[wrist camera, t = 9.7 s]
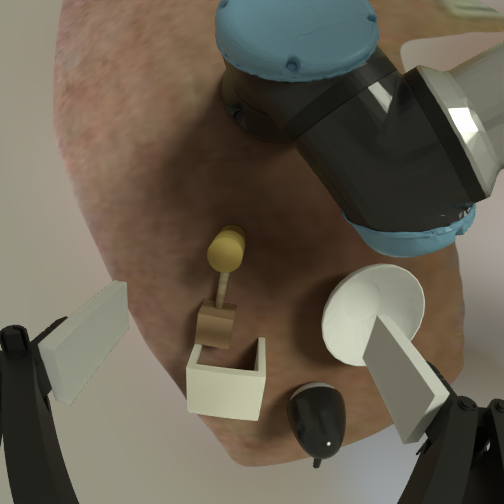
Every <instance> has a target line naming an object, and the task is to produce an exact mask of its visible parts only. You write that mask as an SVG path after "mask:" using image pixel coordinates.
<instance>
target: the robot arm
mask: <svg viewBox="0 0 504 504" xmlns="http://www.w3.org/2000/svg"><path fill="white" fill-rule="evenodd" d="M376 22H377V15H376V13H375V11H374V9H373V7H372V5H371V4H370V2H369V1H368V0H221V1H220V3H219V6H218V7H217V12H216V16H215V29H216V31H215V37H216V43H217V47H218V49H219V50H220V52H221V53H222V56H223V59H224V62H225V65H226V71H225V73H224V76H223V80H222V90H221V91H222V99H223V103H224V106H225V108H226V110H227V112H228V114H229V116H230V117H231V119H232V120H233V122H234V123H235V124H236V125H237V126H238V127H239V128H240V129H241V130H243V131H244V132H245V133H247V134H248V135H250V136H252V137H254V138H257V139H259V140H262V141H266V142H272V143H286V142H292V144H293V146H294V147H295V148H296V149H297V151H298V152H299V153H300V154H301V156H302V157H303V158H304V160H305V161H306V162H307V163H308V165H309V166H310V167H311V169H312V170H313V171H314V173H315V174H316V175H317V177H318V178H319V179H320V181H321V182H322V183H323V185H324V186H325V187H326V189H327V190H328V192H329V193H330V194H331V196H332V197H333V198H334V200H335V201H336V203H337V204H338V206H339V207H340V208H341V213H342V215H343V217H344V218H345V220H346V221H347V222H348V223H349V224H351V225H352V226H353V227H354V228H355V230H356V231H357V232H358V234H359V235H360V236H361V238H362V239H363V241H364V242H365V243H366V244H367V245H368V246H369V247H371V248H372V249H374V250H375V251H376V252H379V253H380V254H383V255H387V256H391V257H401V258H405V257H416V256H421V255H426V254H429V253H432V252H435V251H438V250H440V249H442V248H444V247H446V246H448V245H450V244H451V243H453V242H454V241H455V236H456V235H463V234H464V233H465V232H466V231H467V230H468V228H469V227H470V226H471V224H472V222H473V220H474V217H475V209H476V202H479V201H481V200H484V199H486V198H488V197H490V196H491V193H492V190H493V187H494V184H495V181H496V178H497V175H498V174H499V172H500V171H501V170H502V169H504V41H503V42H502V43H499V44H497V45H496V46H494V47H492V48H490V49H488V50H486V51H484V52H482V53H480V54H478V55H477V56H475V57H473V58H471V59H469V60H467V61H465V62H464V63H462V64H460V65H459V66H457V67H455V68H453V69H451V70H449V71H444V72H443V71H439V70H436V69H432V68H429V67H425V66H421V65H418V66H416V67H415V68H413V69H412V70H410V71H408V72H407V73H405V74H400V72H399V71H398V70H397V69H396V67H395V66H394V65H393V64H392V62H391V61H390V60H389V59H388V57H387V56H386V55H385V54H384V53H383V51H382V50H381V49H380V48H379V47H378V45H377V43H378V40H379V28H378V26H377V24H376ZM128 329H129V321H128V302H127V282H122V281H116V280H114V281H112V282H111V283H110V284H109V285H108V286H106V287H105V288H104V289H102V290H101V291H100V292H99V293H97V294H96V295H95V296H94V297H93V298H91V299H90V300H89V301H88V302H86V303H85V304H84V305H83V306H82V307H80V308H79V309H78V310H77V311H76V312H74V313H73V314H72V315H71V316H70V317H63V318H60V319H58V320H56V321H55V322H54V323H52V324H51V325H50V327H48V328H46V329H45V331H43V332H42V333H41V334H39V335H38V336H37V337H36V338H35V339H34V340H32V341H31V342H30V341H29V337H28V333H27V329H26V328H24V327H23V326H20V325H11V326H7V327H5V328H3V329H2V330H1V331H0V344H1V348H2V351H1V350H0V445H1V439H2V434H3V442H4V451H5V459H6V466H7V472H8V478H9V484H10V488H11V493H12V497H13V502H14V504H79V502H78V500H77V497H76V495H75V492H74V489H73V487H72V484H71V481H70V478H69V475H68V472H67V469H66V466H65V463H64V460H63V457H62V453H61V449H60V446H59V443H58V439H57V434H56V430H55V426H54V421H53V417H52V412H51V406H50V401H49V398H48V396H47V394H48V393H49V392H50V391H51V390H52V391H53V394H54V397H55V399H56V400H58V401H60V402H62V403H64V404H67V405H69V406H71V404H72V403H73V402H74V400H75V399H76V397H77V396H78V395H79V393H80V392H81V391H82V389H83V388H84V387H85V385H86V384H87V382H88V381H89V379H90V378H91V377H92V375H93V374H94V373H95V372H96V370H97V369H98V367H99V366H100V365H101V364H102V362H103V361H104V360H105V358H106V357H107V356H108V354H109V353H110V352H111V351H112V349H113V348H114V347H115V345H116V344H117V343H118V341H119V340H120V339H121V338H122V336H123V335H124V334H125V333H126V331H127V330H128ZM362 358H363V360H364V362H365V364H366V366H367V368H368V370H369V372H370V374H371V376H372V378H373V380H374V382H375V384H376V386H377V388H378V390H379V392H380V395H381V397H382V399H383V401H384V403H385V405H386V407H387V409H388V411H389V413H390V416H391V418H392V420H393V422H394V424H395V426H396V429H397V431H398V433H399V435H400V437H401V440H402V442H403V444H408V443H413V442H418V441H419V439H420V438H421V437H422V436H423V434H424V433H426V435H427V437H428V439H427V440H426V441H425V443H424V444H423V446H422V447H421V448H420V449H419V450H418V452H417V453H416V455H418V454H419V453H420V452H421V453H420V455H419V458H418V460H417V463H416V465H415V467H414V470H413V472H412V474H411V476H410V479H409V481H408V483H407V485H406V487H405V489H404V491H403V493H402V495H401V497H400V499H399V501H398V503H397V504H504V400H501V399H493V400H492V401H491V402H490V404H489V405H488V407H487V408H482V407H478V406H477V405H476V403H475V402H474V401H473V400H471V399H470V398H468V397H465V396H457V395H456V393H455V392H454V391H453V389H452V388H451V387H450V385H449V384H448V383H447V381H446V380H444V377H443V376H442V375H440V372H439V371H438V370H437V368H436V367H435V366H434V365H432V364H431V363H429V362H428V361H425V360H424V359H423V357H422V356H421V355H420V354H419V352H418V351H417V350H416V348H415V347H414V346H413V345H412V343H411V342H410V341H409V340H408V338H407V337H406V336H405V335H404V333H403V332H402V331H401V330H400V329H399V327H398V326H397V325H396V324H395V322H394V321H393V320H392V319H391V318H390V316H385V315H377V316H376V319H375V323H374V326H373V329H372V332H371V334H370V337H369V340H368V343H367V346H366V349H365V351H364V354H363V357H362ZM489 443H490V448H489V450H488V451H487V445H488V444H489Z"/></svg>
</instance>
